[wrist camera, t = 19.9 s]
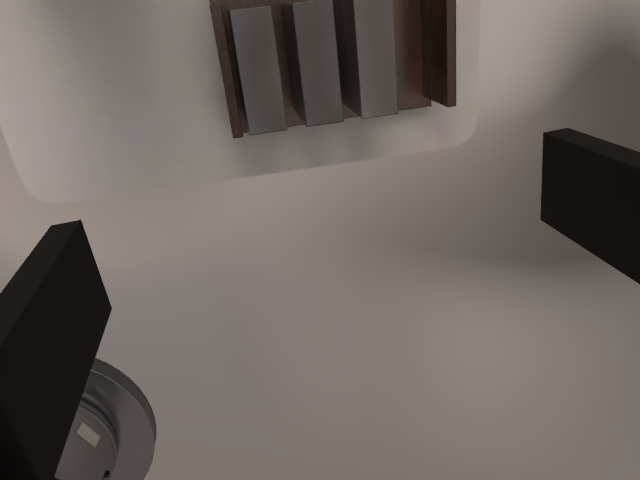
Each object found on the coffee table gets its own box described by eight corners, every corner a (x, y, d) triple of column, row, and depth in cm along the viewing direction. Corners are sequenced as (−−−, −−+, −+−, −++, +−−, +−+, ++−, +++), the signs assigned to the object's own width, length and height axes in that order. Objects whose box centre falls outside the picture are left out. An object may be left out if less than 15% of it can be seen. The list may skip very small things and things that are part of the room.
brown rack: (233, 132, 51) (236, 156, 43) (208, -8, 46) (206, -11, 38) (427, 104, 53) (466, 122, 45) (424, -33, 48) (466, -41, 40)
